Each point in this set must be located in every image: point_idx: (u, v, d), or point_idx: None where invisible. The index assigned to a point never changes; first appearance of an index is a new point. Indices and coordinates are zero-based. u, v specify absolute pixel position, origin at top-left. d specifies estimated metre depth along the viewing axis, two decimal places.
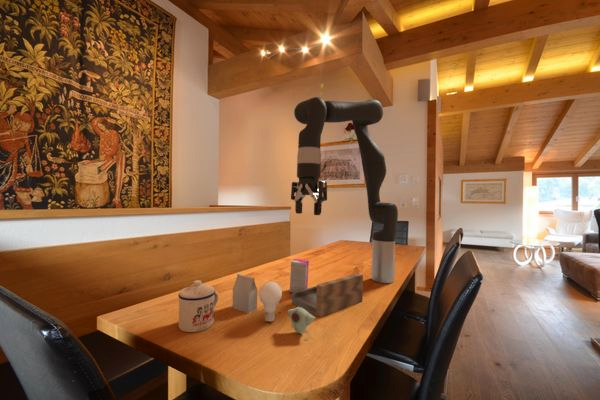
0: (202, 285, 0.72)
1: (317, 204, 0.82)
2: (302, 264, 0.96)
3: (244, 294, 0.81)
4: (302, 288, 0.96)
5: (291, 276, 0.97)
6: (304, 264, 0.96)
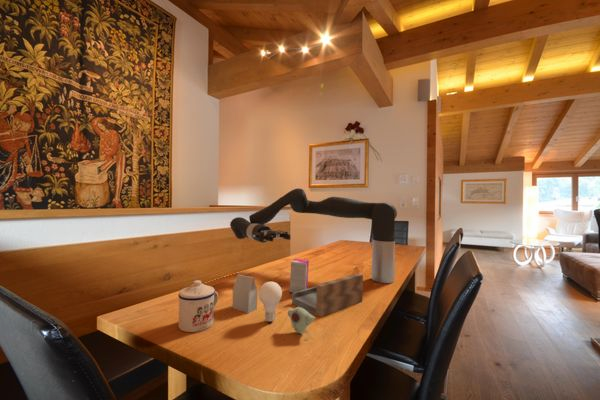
0: (202, 285, 0.72)
1: None
2: (302, 264, 0.96)
3: (244, 294, 0.81)
4: (302, 288, 0.96)
5: (291, 276, 0.97)
6: (304, 264, 0.96)
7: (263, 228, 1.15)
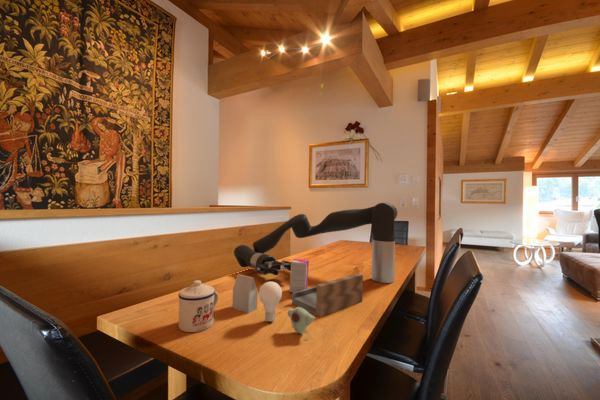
0: (202, 285, 0.72)
1: (270, 272, 1.04)
2: (302, 264, 0.96)
3: (244, 294, 0.81)
4: (302, 288, 0.96)
5: (291, 276, 0.97)
6: (304, 264, 0.96)
7: (267, 259, 1.13)
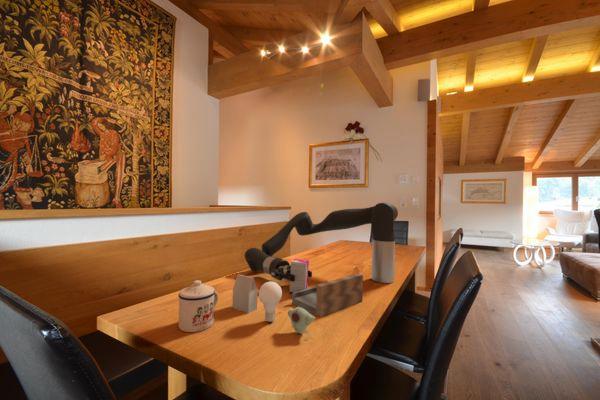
0: (202, 285, 0.72)
1: (286, 278, 0.97)
2: (302, 264, 0.96)
3: (244, 294, 0.81)
4: (302, 288, 0.96)
5: None
6: (304, 264, 0.96)
7: (281, 263, 1.06)
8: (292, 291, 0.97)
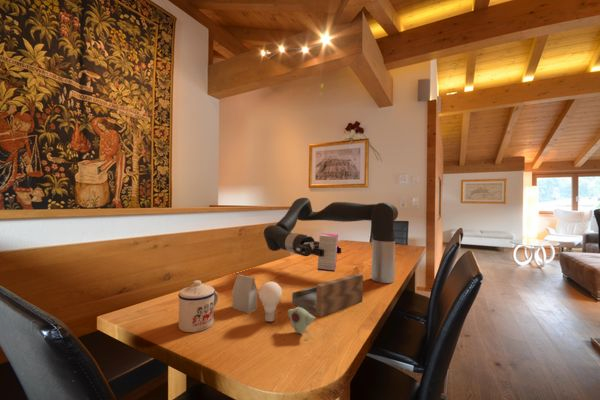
0: (202, 285, 0.72)
1: (314, 253, 0.88)
2: (332, 238, 0.87)
3: (244, 294, 0.81)
4: (332, 264, 0.87)
5: None
6: (334, 238, 0.87)
7: (306, 239, 0.96)
8: (321, 268, 0.87)
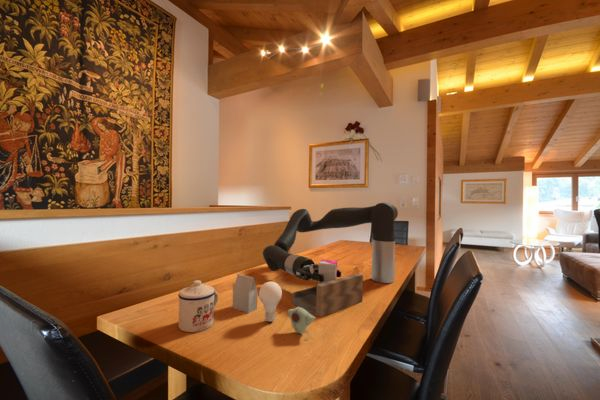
0: (202, 285, 0.72)
1: (314, 278, 0.88)
2: (331, 265, 0.87)
3: (244, 294, 0.81)
4: None
5: None
6: (333, 265, 0.87)
7: (306, 262, 0.97)
8: None
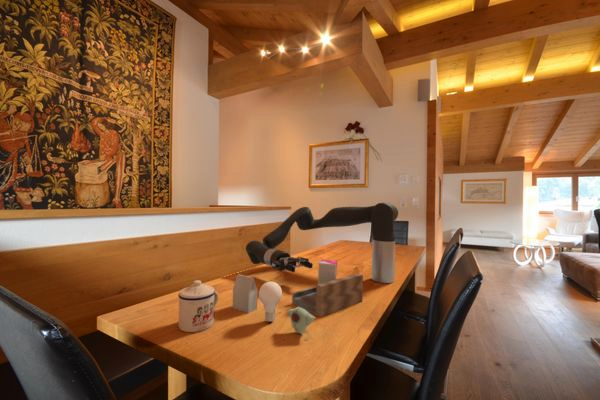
0: (202, 285, 0.72)
1: None
2: (331, 265, 0.87)
3: (244, 294, 0.81)
4: None
5: (319, 279, 0.88)
6: (333, 265, 0.87)
7: (282, 255, 1.07)
8: None
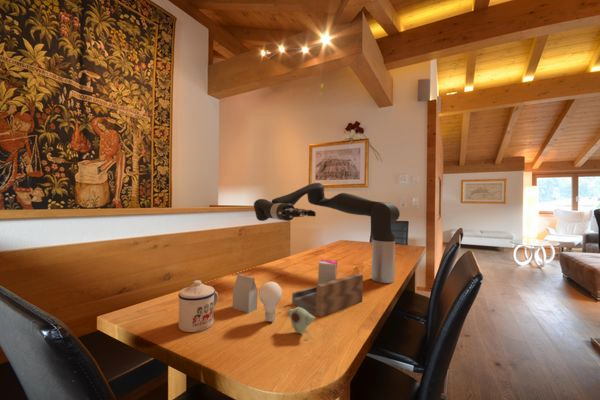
0: (202, 285, 0.72)
1: (292, 215, 1.07)
2: (331, 265, 0.87)
3: (244, 294, 0.81)
4: None
5: (319, 279, 0.88)
6: (333, 265, 0.87)
7: (288, 206, 1.16)
8: None
